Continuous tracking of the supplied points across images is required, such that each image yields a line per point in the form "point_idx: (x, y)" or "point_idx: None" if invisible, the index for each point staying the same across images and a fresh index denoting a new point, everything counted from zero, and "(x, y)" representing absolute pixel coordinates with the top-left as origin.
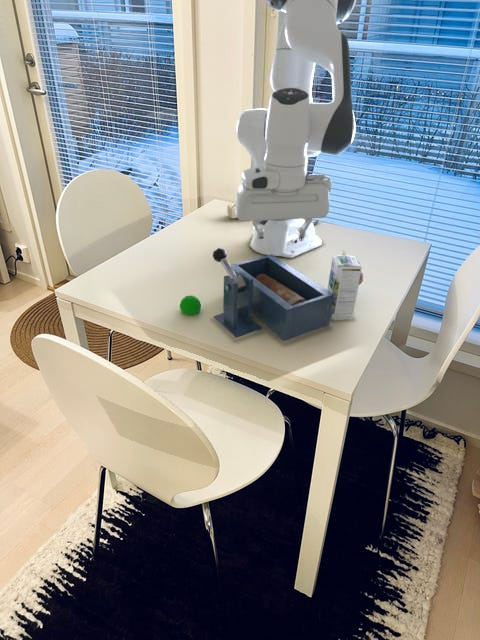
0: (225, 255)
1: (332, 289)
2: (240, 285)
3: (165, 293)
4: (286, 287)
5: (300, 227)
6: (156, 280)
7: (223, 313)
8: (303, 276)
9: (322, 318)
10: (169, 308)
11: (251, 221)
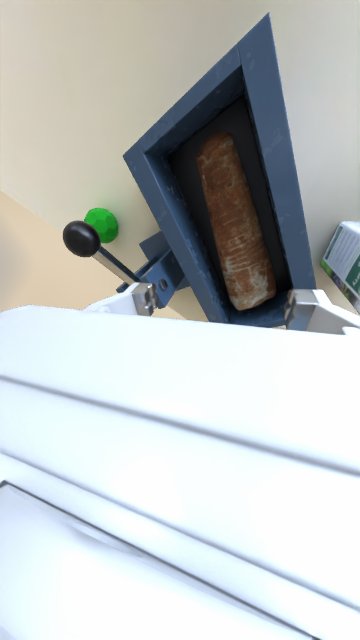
0: (94, 251)
1: (345, 282)
2: None
3: (51, 140)
4: (250, 245)
5: (310, 307)
6: (7, 62)
7: (150, 239)
8: (300, 236)
9: None
10: (78, 202)
11: (89, 308)
